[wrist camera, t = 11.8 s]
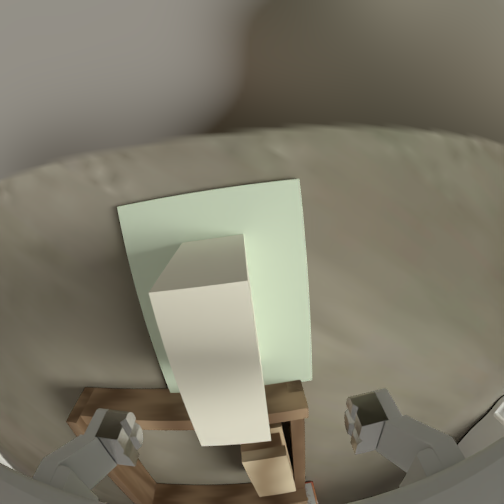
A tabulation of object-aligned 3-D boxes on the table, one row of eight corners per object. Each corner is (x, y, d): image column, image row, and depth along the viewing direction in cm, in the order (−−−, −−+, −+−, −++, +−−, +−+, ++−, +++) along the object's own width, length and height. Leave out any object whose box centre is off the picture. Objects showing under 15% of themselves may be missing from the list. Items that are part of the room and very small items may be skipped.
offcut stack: (278, 411, 25) (285, 451, 20) (291, 462, 28) (297, 495, 23) (237, 418, 25) (237, 459, 20) (257, 467, 28) (260, 501, 23)
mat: (297, 178, 19) (299, 178, 18) (310, 375, 23) (312, 379, 23) (120, 205, 19) (117, 207, 18) (172, 390, 23) (171, 395, 23)
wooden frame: (299, 375, 23) (310, 417, 18) (302, 480, 29) (308, 510, 24) (85, 387, 23) (65, 421, 18) (151, 486, 29) (146, 514, 24)
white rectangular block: (243, 234, 19) (247, 280, 11) (261, 360, 22) (271, 440, 14) (182, 242, 19) (148, 292, 11) (210, 366, 22) (201, 446, 14)
